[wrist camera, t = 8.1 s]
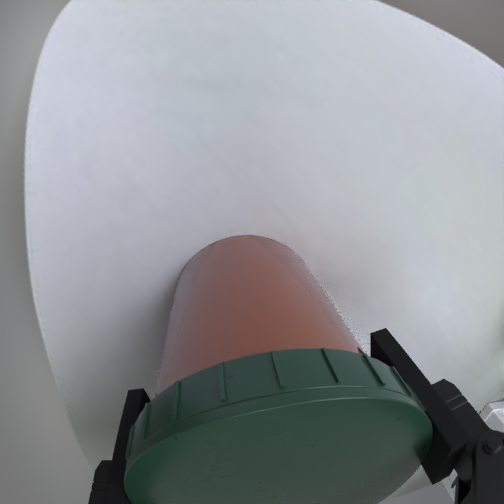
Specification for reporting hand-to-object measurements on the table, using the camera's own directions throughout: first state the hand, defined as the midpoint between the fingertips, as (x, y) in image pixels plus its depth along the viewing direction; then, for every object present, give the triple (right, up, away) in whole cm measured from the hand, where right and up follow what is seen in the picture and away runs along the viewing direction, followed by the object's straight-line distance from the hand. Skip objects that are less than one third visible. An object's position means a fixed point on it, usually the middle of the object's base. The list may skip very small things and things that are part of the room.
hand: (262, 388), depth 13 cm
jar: (-1, +3, +7) cm, 8 cm away
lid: (+1, -2, -5) cm, 5 cm away
